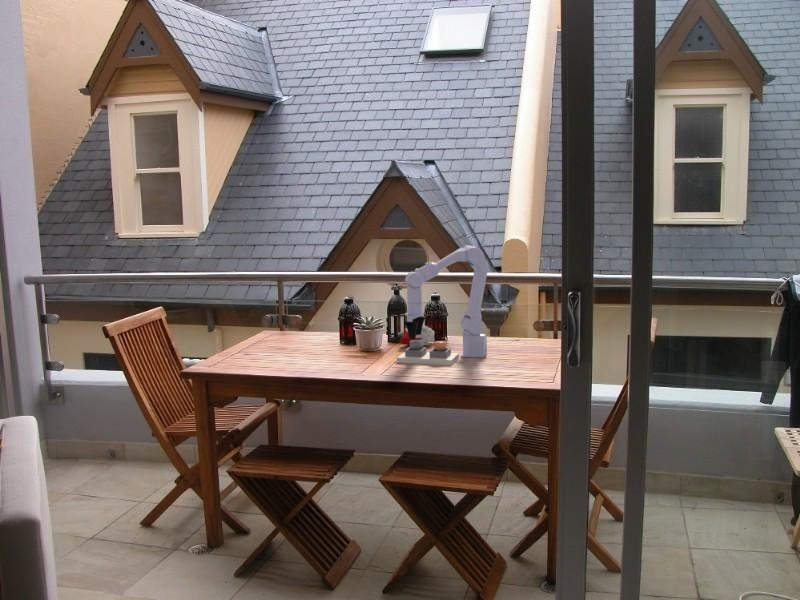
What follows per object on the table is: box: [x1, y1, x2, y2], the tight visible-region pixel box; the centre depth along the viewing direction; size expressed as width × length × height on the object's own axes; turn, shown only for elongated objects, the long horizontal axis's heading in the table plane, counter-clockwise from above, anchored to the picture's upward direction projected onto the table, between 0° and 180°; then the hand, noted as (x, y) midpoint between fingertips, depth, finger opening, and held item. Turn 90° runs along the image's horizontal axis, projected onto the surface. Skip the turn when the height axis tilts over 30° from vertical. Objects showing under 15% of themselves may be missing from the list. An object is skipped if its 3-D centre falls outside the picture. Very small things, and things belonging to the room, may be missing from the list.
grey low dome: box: [409, 340, 423, 349], centre depth 316 cm, size 5×5×2 cm
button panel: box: [396, 346, 460, 366], centre depth 315 cm, size 22×12×4 cm, turn 72°
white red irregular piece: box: [399, 324, 434, 347], centre depth 341 cm, size 9×11×15 cm
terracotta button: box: [433, 340, 447, 350], centre depth 313 cm, size 5×5×2 cm
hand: (415, 336), depth 315 cm, fingers open, 7 cm apart
